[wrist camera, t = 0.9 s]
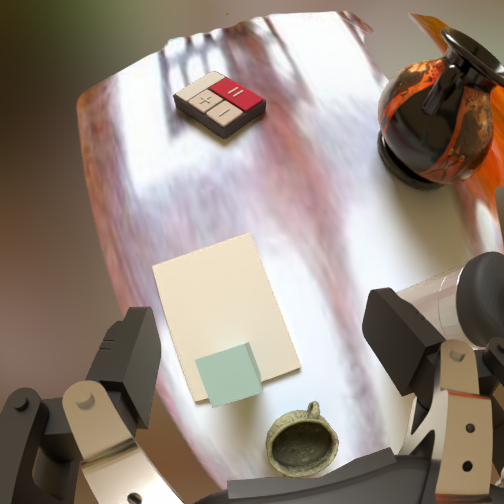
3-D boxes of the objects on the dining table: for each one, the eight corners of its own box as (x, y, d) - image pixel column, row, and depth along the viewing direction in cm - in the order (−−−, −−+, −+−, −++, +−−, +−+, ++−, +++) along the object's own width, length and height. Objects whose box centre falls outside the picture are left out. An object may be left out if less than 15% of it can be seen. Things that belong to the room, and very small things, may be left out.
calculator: (223, 127, 43) (171, 92, 46) (224, 143, 47) (175, 107, 50) (267, 97, 45) (213, 67, 48) (266, 113, 49) (215, 81, 52)
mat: (300, 366, 35) (301, 366, 34) (195, 400, 33) (194, 401, 33) (250, 234, 41) (250, 232, 40) (154, 267, 39) (152, 266, 38)
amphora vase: (403, 108, 50) (448, 14, 23) (467, 179, 44) (541, 99, 17) (340, 136, 46) (384, 5, 20) (418, 226, 41) (526, 125, 14)
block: (260, 372, 34) (262, 392, 21) (228, 382, 33) (212, 407, 20) (248, 341, 35) (244, 343, 22) (217, 352, 35) (194, 359, 21)
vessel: (280, 388, 34) (284, 398, 28) (339, 402, 33) (354, 412, 27) (253, 461, 30) (252, 480, 25) (311, 472, 30) (320, 491, 24)
